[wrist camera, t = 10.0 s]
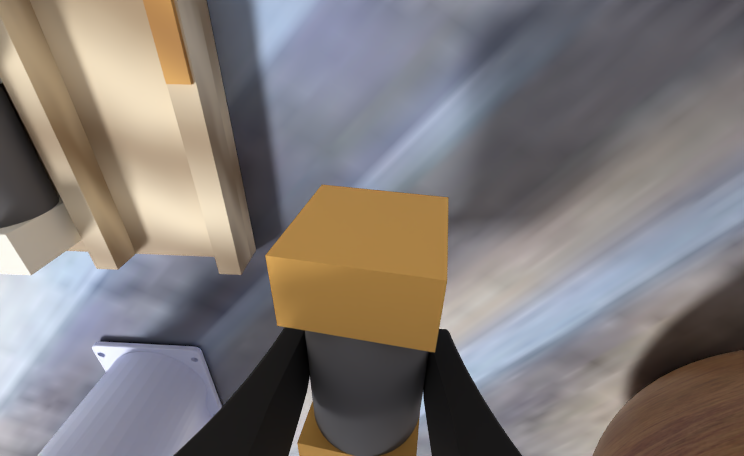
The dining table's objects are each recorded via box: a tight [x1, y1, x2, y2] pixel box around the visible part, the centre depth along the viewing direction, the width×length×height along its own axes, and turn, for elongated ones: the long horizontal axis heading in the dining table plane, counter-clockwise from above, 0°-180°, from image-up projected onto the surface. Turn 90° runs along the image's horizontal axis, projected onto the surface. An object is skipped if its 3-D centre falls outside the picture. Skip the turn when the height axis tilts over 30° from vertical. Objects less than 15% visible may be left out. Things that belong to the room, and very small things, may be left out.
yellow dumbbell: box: [265, 185, 448, 456], centre depth 12 cm, size 10×4×4 cm, turn 179°
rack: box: [0, 0, 256, 275], centre depth 16 cm, size 13×15×2 cm
